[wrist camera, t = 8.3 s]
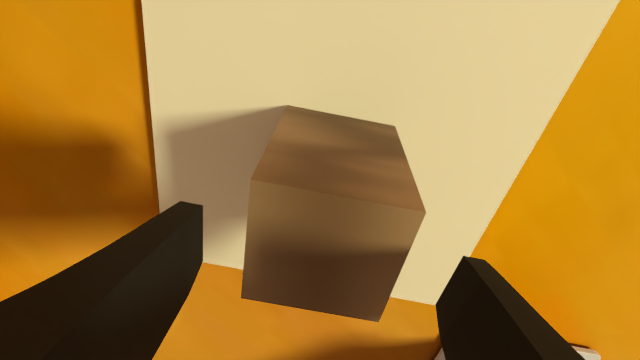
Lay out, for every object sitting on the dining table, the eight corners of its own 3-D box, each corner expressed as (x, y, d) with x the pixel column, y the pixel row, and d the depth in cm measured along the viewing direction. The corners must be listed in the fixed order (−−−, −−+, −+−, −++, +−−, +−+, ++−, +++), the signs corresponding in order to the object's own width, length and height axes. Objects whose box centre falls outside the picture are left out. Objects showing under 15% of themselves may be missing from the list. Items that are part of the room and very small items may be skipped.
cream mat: (608, -11, 11) (626, -10, 10) (437, 294, 19) (440, 306, 19) (144, -116, 11) (130, -124, 10) (170, 245, 19) (163, 254, 18)
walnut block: (395, 125, 13) (426, 212, 8) (367, 212, 16) (378, 322, 10) (287, 104, 13) (250, 179, 8) (275, 195, 15) (240, 297, 10)
